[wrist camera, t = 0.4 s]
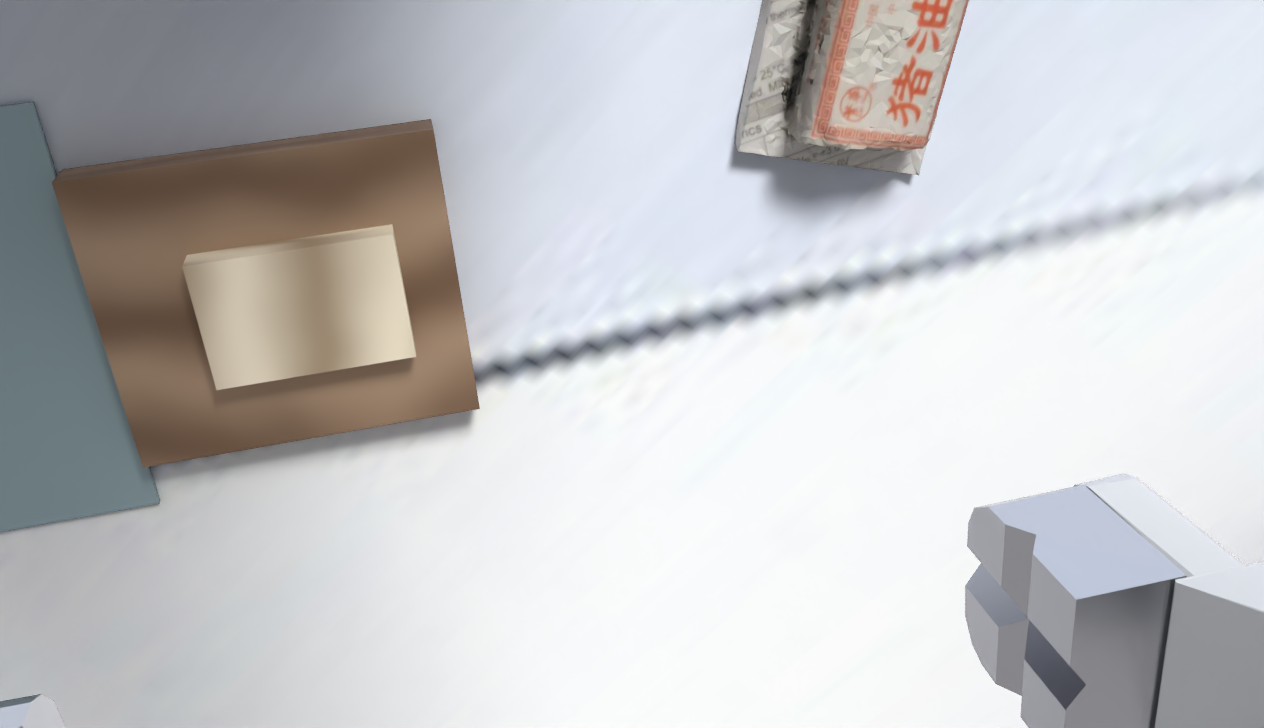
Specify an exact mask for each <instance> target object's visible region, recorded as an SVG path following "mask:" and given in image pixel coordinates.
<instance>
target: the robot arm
mask: <svg viewBox="0 0 1264 728" xmlns="http://www.w3.org/2000/svg"><path fill="white" fill-rule="evenodd" d="M967 546H968V548H969V549H970V550H971V551H972V552H973V554H974V555H975V556H976V557H977V558H978V560H979V561H980V562H981V564H980V566H979V567H978V568H977V570H976V571H975V573H974V574H973V576H972V577H971V578H970V580H969V581H968V583H967V584H966V586H965V617H966V621H967V625H968V629H969V633H970V637H971V641H972V645H973V647H974V649H975V651H976V653H977V655H978V657H979V660H980V662H981V664H982V665H983V667H984V668H985V670H986V671H987V672H988V674H989V675H990V677H991V678H992V679H993V681H994V682H995V683H996V684H997V685H1000V686H1002V687H1004V688H1006V689H1008V690H1011V691H1013V692H1015V693H1017V694H1019V695H1021V696H1022V704H1021V718H1022V720H1023V721H1024V722H1025V723H1026V725H1027V726H1028V727H1029V728H1264V563H1263V562H1257V563H1252V564H1248V565H1244V564H1243V563H1242V562H1241V561H1240V560H1238V559H1237V558H1236V557H1235V556H1233V555H1232V554H1231V553H1230V552H1229V551H1227V550H1226V549H1225V548H1224V547H1222V546H1221V545H1220V544H1219V543H1217V542H1216V541H1215V540H1214V539H1213V538H1211V537H1210V536H1209V535H1208V534H1206V533H1205V532H1204V531H1203V530H1202V529H1200V528H1199V527H1198V526H1197V525H1195V524H1194V523H1193V522H1192V521H1190V520H1189V519H1188V518H1187V517H1186V516H1184V515H1183V514H1182V513H1181V512H1179V511H1178V510H1177V509H1176V508H1175V507H1173V506H1172V505H1171V504H1170V503H1168V502H1167V501H1166V500H1165V499H1163V498H1162V497H1161V496H1160V495H1159V494H1157V493H1156V492H1155V491H1154V490H1152V489H1151V488H1150V487H1149V486H1148V485H1146V484H1145V483H1144V482H1143V481H1141V480H1140V479H1139V478H1137V477H1134V476H1130V475H1126V474H1120V475H1116V476H1111V477H1107V478H1103V479H1098V480H1094V481H1090V482H1086V483H1081V484H1077V485H1074V486H1073V487H1071V488H1066V489H1061V490H1057V491H1052V492H1047V493H1042V494H1038V495H1033V496H1028V497H1023V498H1019V499H1014V500H1009V501H1004V502H1000V503H995V504H990V505H985V506H981V507H976V508H974V510H973V512H972V515H971V518H970V520H969V523H968V540H967ZM0 728H66V727H65V724H64V722H63V720H62V718H61V715H60V713H59V711H58V708H57V706H56V704H55V702H54V700H52V699H50V698H48V697H46V696H44V695H42V694H39V695H34V696H28V697H23V698H17V699H11V700H6V701H0Z"/></svg>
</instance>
